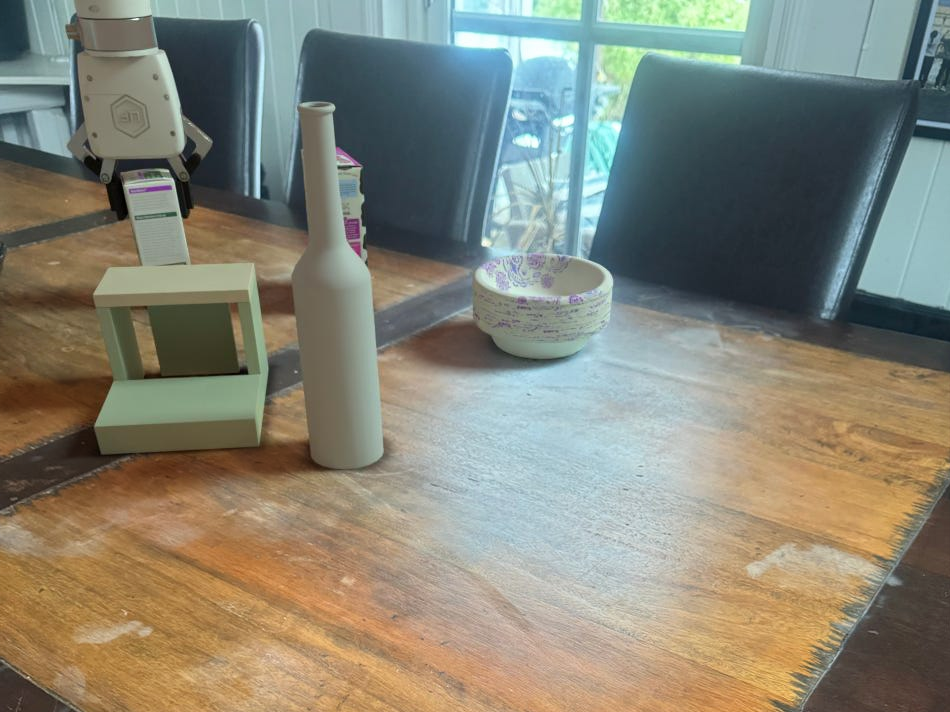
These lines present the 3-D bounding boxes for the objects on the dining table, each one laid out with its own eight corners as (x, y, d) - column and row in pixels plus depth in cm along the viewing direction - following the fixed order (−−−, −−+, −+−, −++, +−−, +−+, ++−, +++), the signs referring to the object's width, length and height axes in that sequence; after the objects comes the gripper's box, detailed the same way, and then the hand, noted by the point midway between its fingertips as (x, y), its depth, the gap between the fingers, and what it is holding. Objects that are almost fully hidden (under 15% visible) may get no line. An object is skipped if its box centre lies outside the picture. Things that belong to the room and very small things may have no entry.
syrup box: (199, 306, 116) (177, 177, 107) (149, 311, 114) (122, 181, 105) (192, 291, 120) (170, 166, 111) (144, 296, 118) (118, 170, 109)
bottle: (372, 433, 89) (347, 94, 72) (392, 464, 84) (371, 109, 67) (303, 444, 87) (261, 99, 70) (320, 477, 82) (279, 115, 65)
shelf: (101, 457, 85) (68, 335, 78) (133, 376, 99) (108, 267, 92) (259, 448, 86) (240, 328, 79) (269, 370, 100) (253, 262, 93)
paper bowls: (534, 383, 98) (538, 307, 93) (445, 340, 107) (444, 269, 102) (635, 348, 106) (643, 276, 101) (544, 311, 115) (547, 243, 110)
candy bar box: (373, 313, 114) (364, 164, 104) (333, 318, 113) (319, 168, 102) (350, 284, 122) (339, 144, 112) (312, 289, 121) (297, 147, 111)
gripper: (25, 42, 96) (71, 227, 107) (199, 40, 97) (227, 223, 109) (42, 33, 101) (84, 210, 113) (206, 31, 103) (232, 206, 114)
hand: (154, 215), depth 111 cm, fingers closed on syrup box, 6 cm apart
